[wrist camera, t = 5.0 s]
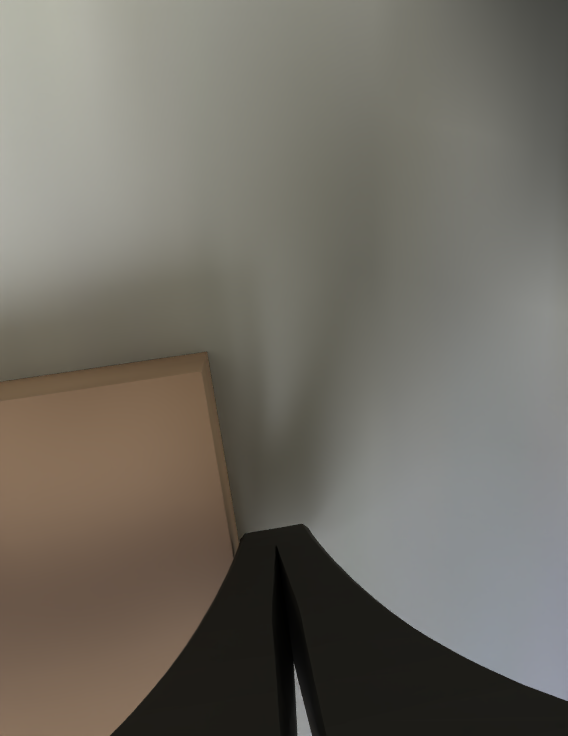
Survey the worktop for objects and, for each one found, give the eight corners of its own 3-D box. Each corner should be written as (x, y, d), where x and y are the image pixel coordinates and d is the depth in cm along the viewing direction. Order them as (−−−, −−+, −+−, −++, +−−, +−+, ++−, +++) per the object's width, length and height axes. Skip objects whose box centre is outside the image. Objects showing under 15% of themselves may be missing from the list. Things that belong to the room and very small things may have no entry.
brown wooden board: (264, 682, 13) (270, 773, 11) (30, 727, 13) (-15, 832, 10) (207, 348, 11) (201, 371, 9) (-70, 388, 11) (-155, 424, 8)
